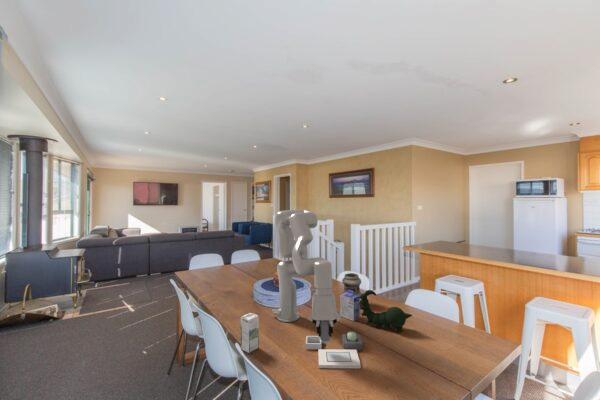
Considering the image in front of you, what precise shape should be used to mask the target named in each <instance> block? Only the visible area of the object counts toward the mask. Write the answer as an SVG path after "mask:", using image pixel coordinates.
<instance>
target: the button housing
mask: <svg viewBox="0 0 600 400" xmlns="http://www.w3.org/2000/svg"><path fill="white" fill-rule="evenodd" d="M356 337H357V341H347V333H342V334H341V341H342V342H341V343H342V347H343V349H345V350H357V351H364V345H363V340H362V337H361V335H360V333H359V334H358V333H356Z"/></svg>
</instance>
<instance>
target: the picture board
mask: <svg viewBox="0 0 600 400" xmlns="http://www.w3.org/2000/svg"><path fill="white" fill-rule="evenodd" d="M317 353H318V355H317V356H318V369H362V365H361V361H360V358H359V355H358V350H345V349H344V348H343V349H334V348H333V349H332V348H331V349H329V348H327V349H323V348H322V349H318V352H317Z"/></svg>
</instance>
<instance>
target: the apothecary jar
mask: <svg viewBox="0 0 600 400" xmlns="http://www.w3.org/2000/svg"><path fill="white" fill-rule="evenodd" d="M341 281H342V284H343V291H342V293H341V294H343V293H348V290H351V291H354V293H353V295H356V296H359V300H361V298H360V296H361V294H363V293H362V292H361V289H360V288H361V287H360V285H361V284H362V279H361V278H360V277H359V275H358V274H357V273H355V272H354V273H353V272H349V273H345V274H344V277H343V278H342V279H341ZM349 293H352V292H349Z"/></svg>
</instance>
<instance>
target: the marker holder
mask: <svg viewBox="0 0 600 400" xmlns="http://www.w3.org/2000/svg"><path fill="white" fill-rule="evenodd" d="M318 349H323V348H322V342H321V339H320V337H319V335H306V337H305V350H318Z"/></svg>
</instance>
